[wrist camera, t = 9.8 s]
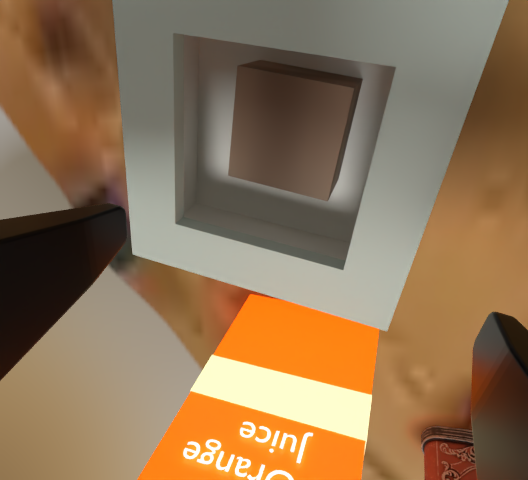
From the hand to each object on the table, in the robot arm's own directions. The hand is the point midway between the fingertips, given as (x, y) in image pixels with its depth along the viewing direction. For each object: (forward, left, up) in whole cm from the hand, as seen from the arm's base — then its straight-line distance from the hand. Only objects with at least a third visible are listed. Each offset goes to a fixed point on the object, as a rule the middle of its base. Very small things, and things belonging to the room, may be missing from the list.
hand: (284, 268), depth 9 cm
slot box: (+3, 0, -13) cm, 13 cm away
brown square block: (+3, 0, -12) cm, 12 cm away
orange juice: (0, +15, -13) cm, 20 cm away
